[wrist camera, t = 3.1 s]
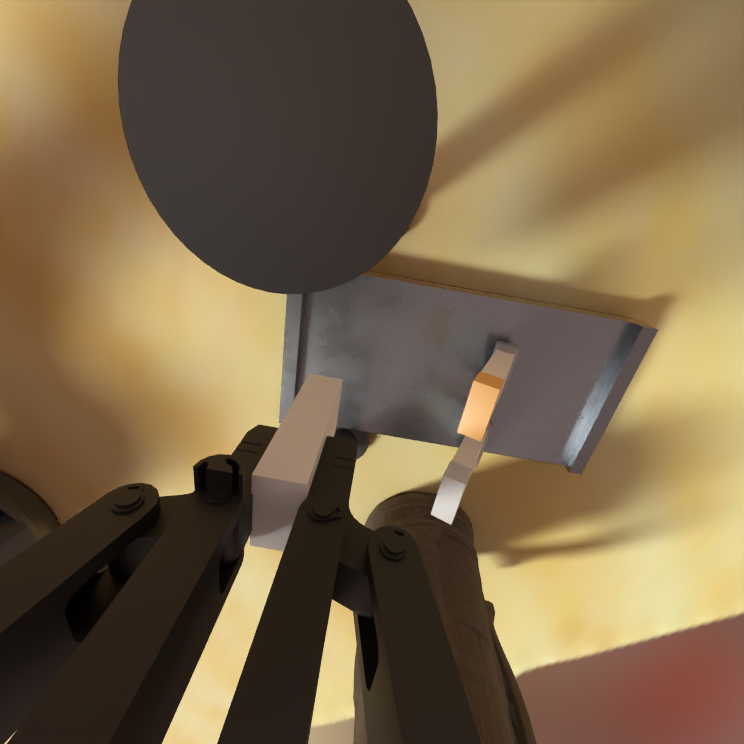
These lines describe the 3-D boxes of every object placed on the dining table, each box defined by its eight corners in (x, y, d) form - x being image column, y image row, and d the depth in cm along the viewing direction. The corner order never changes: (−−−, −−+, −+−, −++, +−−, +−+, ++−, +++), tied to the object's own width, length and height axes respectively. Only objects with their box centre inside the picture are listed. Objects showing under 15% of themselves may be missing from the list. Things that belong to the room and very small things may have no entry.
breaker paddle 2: (461, 450, 28) (427, 516, 21) (473, 412, 26) (442, 469, 19) (480, 459, 27) (452, 529, 20) (494, 420, 26) (469, 482, 19)
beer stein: (338, 540, 35) (305, 888, 17) (392, 470, 31) (422, 830, 13) (459, 586, 39) (536, 917, 21) (522, 528, 35) (686, 878, 17)
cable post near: (342, 238, 24) (50, 352, 3) (351, 165, 22) (-150, -487, 2) (405, 250, 24) (478, 426, 4) (419, 178, 22) (729, -298, 2)
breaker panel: (288, 405, 29) (278, 422, 27) (299, 258, 24) (289, 263, 22) (564, 452, 30) (581, 474, 27) (630, 318, 25) (658, 329, 22)
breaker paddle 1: (483, 385, 25) (453, 434, 18) (498, 339, 24) (472, 375, 17) (504, 392, 25) (482, 447, 18) (522, 346, 23) (504, 386, 16)
